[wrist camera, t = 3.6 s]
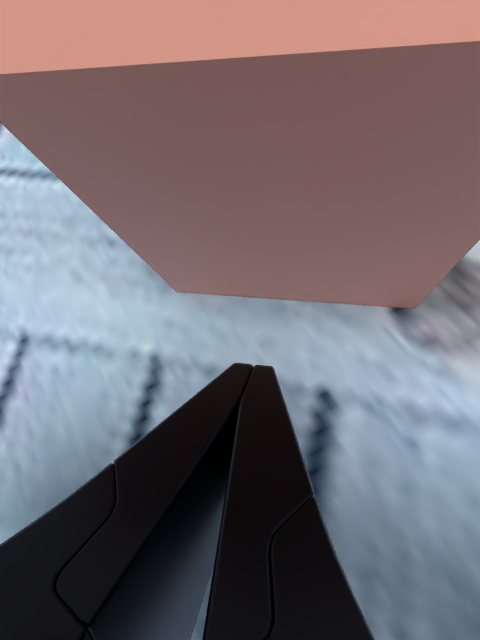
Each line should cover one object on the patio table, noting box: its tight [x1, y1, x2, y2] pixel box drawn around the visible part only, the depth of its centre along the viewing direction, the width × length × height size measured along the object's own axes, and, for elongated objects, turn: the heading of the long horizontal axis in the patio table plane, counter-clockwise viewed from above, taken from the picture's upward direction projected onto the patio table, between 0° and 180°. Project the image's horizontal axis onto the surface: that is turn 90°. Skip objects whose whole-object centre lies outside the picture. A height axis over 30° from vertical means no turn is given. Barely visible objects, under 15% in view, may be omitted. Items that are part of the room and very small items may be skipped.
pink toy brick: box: [0, 0, 480, 309], centre depth 12 cm, size 15×10×12 cm, turn 172°
